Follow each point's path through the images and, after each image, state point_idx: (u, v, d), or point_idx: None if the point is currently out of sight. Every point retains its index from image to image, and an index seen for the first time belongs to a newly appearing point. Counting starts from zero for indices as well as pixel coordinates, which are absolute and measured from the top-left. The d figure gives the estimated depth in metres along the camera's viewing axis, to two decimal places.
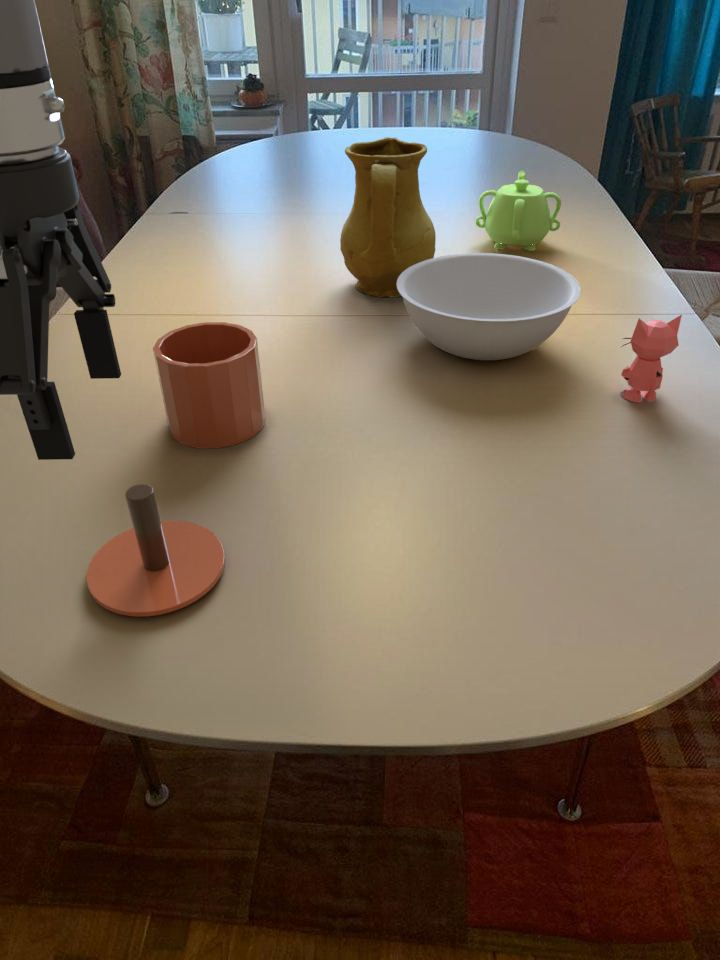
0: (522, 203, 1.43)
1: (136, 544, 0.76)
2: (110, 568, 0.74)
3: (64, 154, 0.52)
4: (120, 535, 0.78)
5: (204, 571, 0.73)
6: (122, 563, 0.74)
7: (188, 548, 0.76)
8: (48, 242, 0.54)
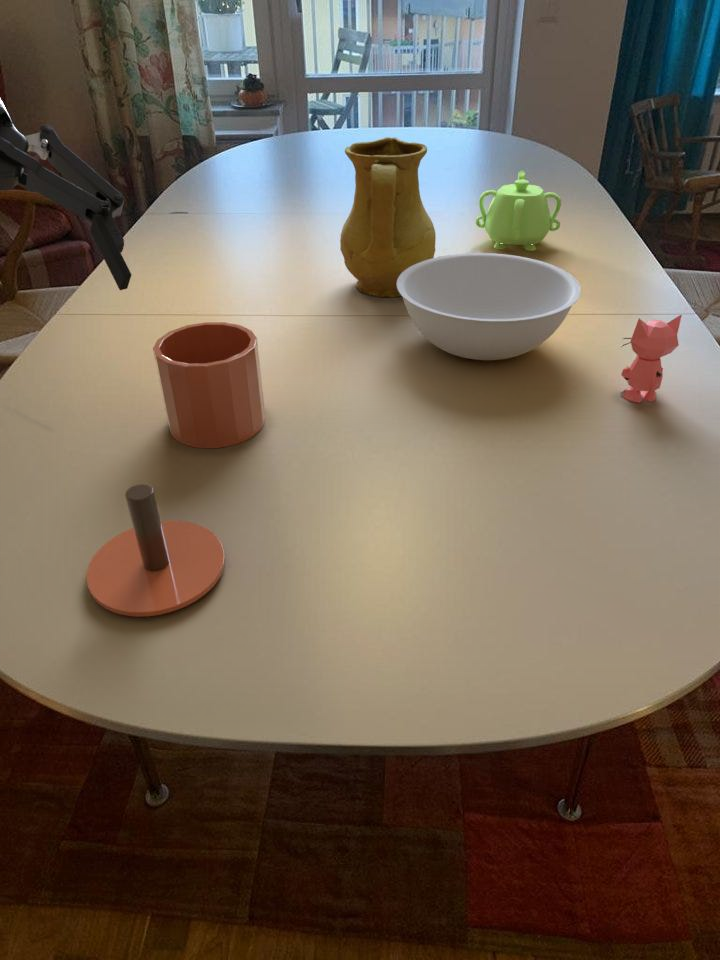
0: (522, 203, 1.43)
1: (136, 544, 0.76)
2: (110, 568, 0.74)
3: None
4: (120, 535, 0.78)
5: (204, 571, 0.73)
6: (122, 563, 0.74)
7: (188, 548, 0.76)
8: None
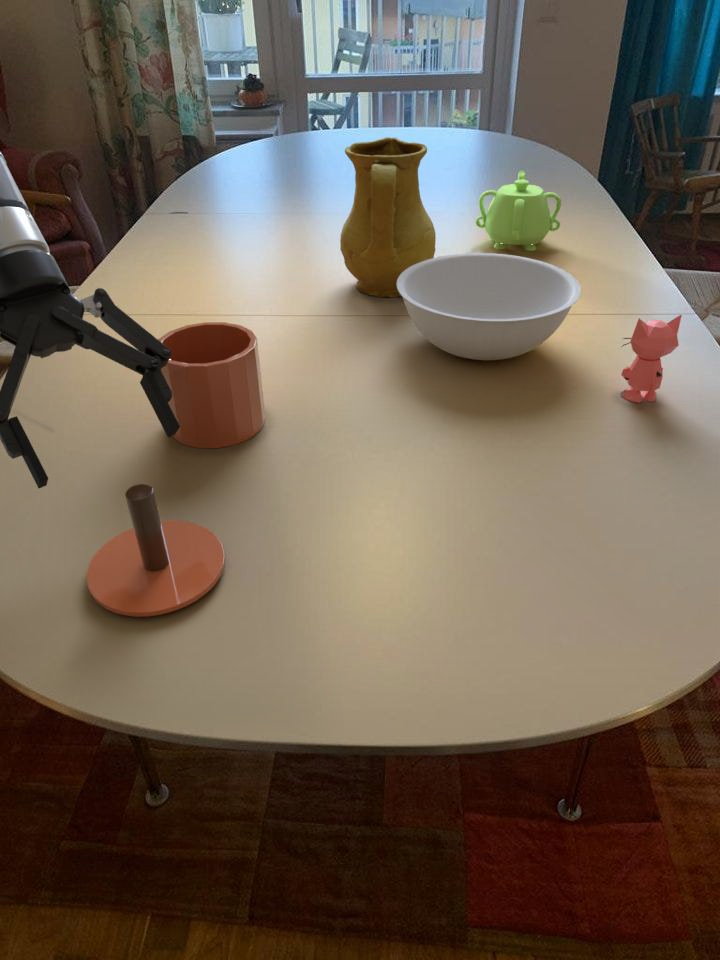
0: (522, 203, 1.43)
1: (136, 544, 0.76)
2: (110, 568, 0.74)
3: None
4: (120, 535, 0.78)
5: (204, 571, 0.73)
6: (122, 563, 0.74)
7: (188, 548, 0.76)
8: None
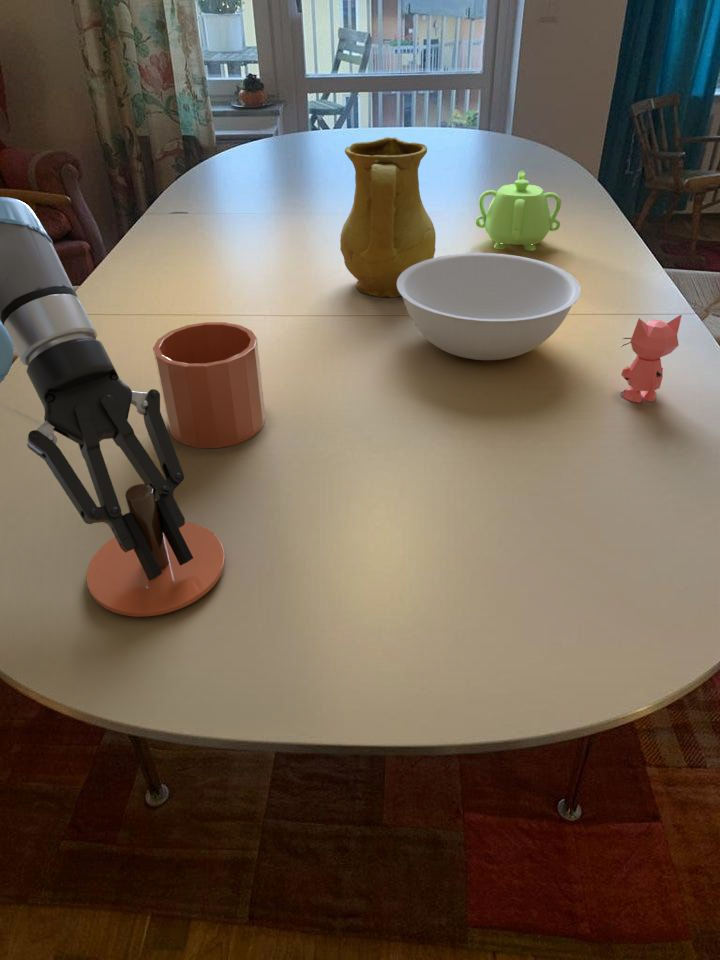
0: (522, 203, 1.43)
1: None
2: (110, 568, 0.74)
3: None
4: None
5: (204, 571, 0.73)
6: (122, 563, 0.74)
7: None
8: None
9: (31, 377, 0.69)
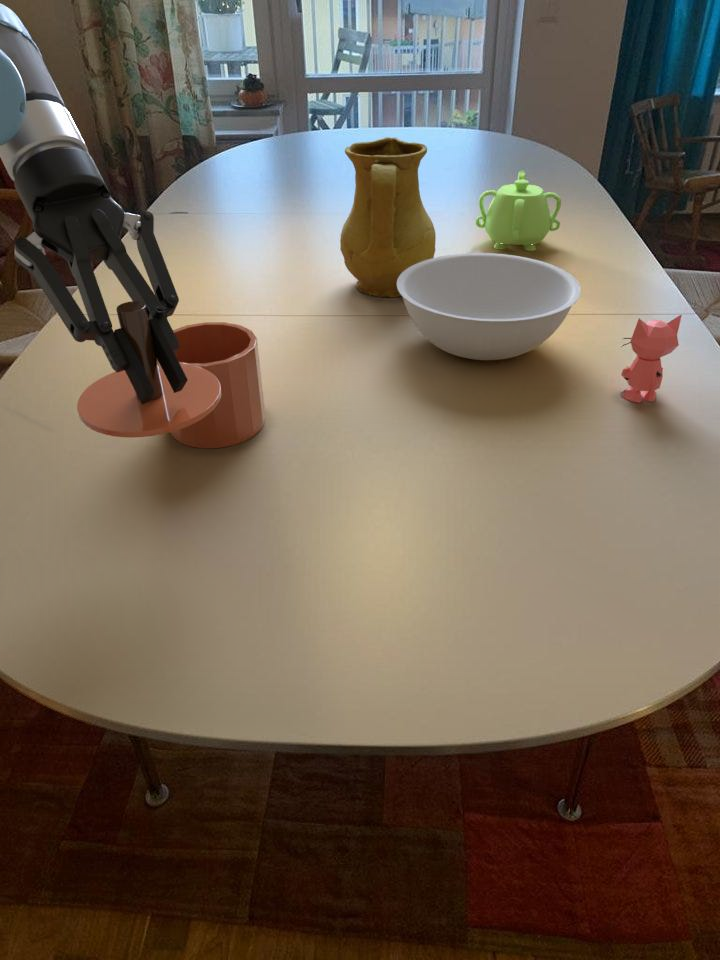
0: (522, 203, 1.43)
1: (129, 380, 0.74)
2: (102, 398, 0.71)
3: None
4: (113, 373, 0.75)
5: (199, 400, 0.70)
6: (114, 394, 0.71)
7: None
8: None
9: (18, 187, 0.66)
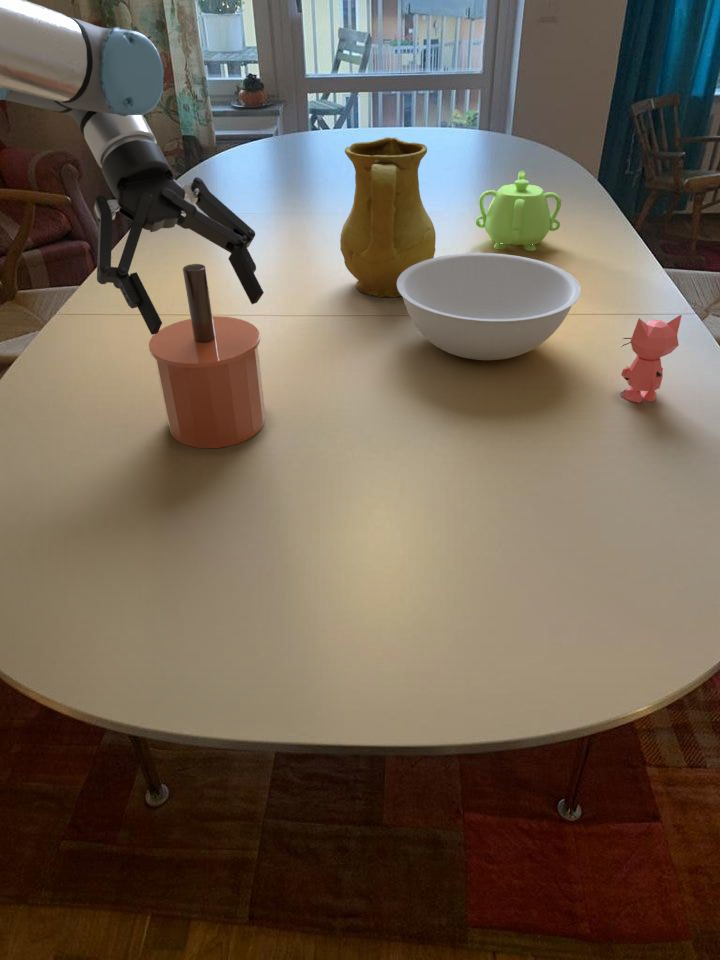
0: (522, 203, 1.43)
1: (187, 329, 0.93)
2: (168, 341, 0.91)
3: None
4: (173, 324, 0.95)
5: (244, 342, 0.90)
6: (176, 338, 0.91)
7: (229, 330, 0.93)
8: None
9: (106, 171, 0.86)
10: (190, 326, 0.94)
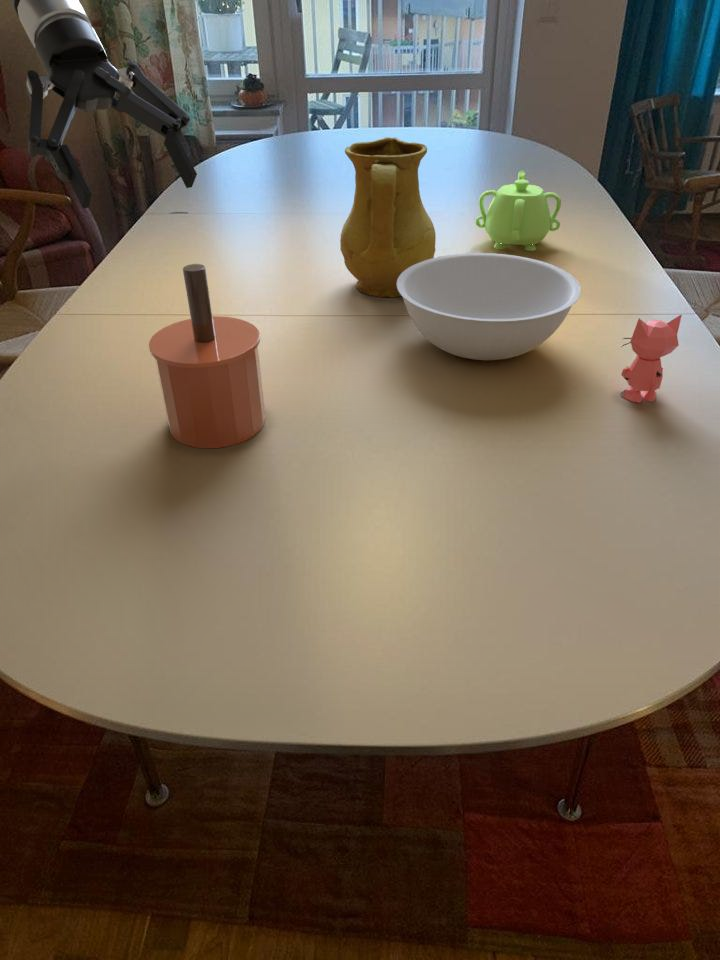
0: (522, 203, 1.43)
1: (187, 329, 0.93)
2: (168, 341, 0.91)
3: None
4: (173, 324, 0.95)
5: (244, 342, 0.90)
6: (176, 338, 0.91)
7: (229, 330, 0.93)
8: None
9: (39, 49, 0.87)
10: (190, 326, 0.94)
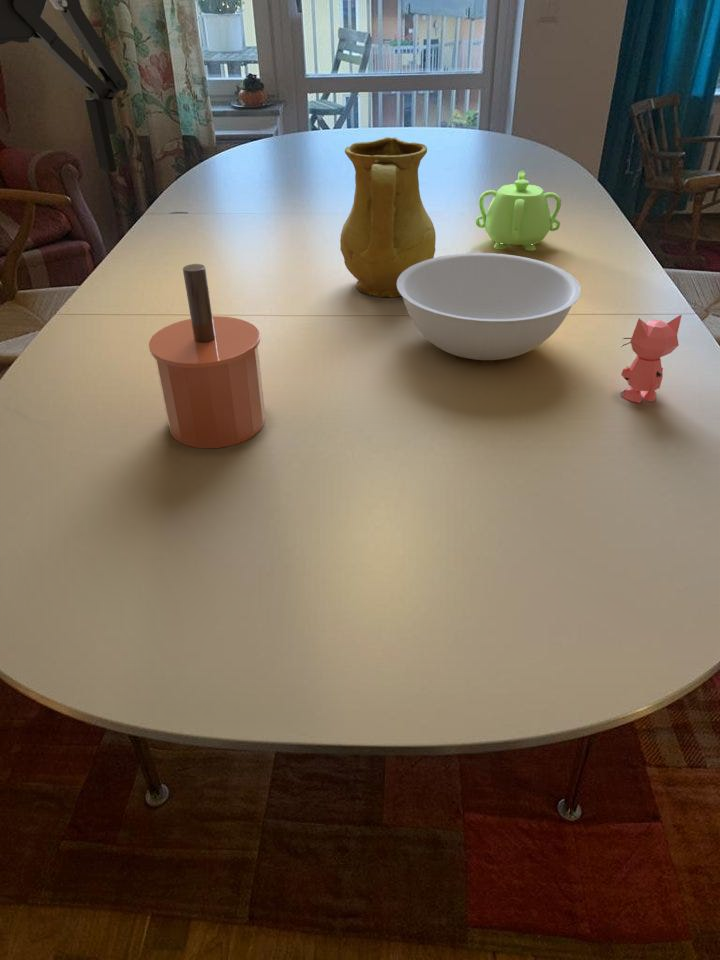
0: (522, 203, 1.43)
1: (187, 329, 0.93)
2: (168, 341, 0.91)
3: None
4: (173, 324, 0.95)
5: (244, 342, 0.90)
6: (176, 338, 0.91)
7: (229, 330, 0.93)
8: None
9: None
10: (190, 326, 0.94)
